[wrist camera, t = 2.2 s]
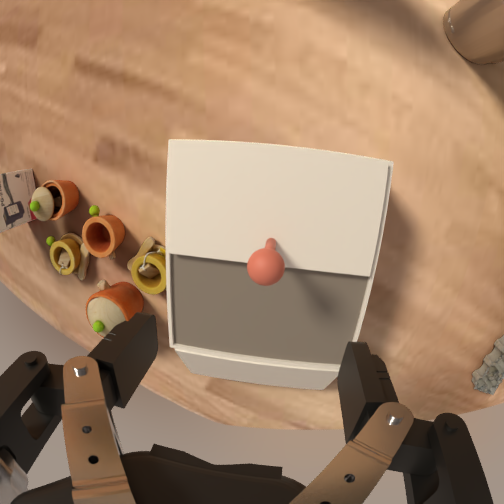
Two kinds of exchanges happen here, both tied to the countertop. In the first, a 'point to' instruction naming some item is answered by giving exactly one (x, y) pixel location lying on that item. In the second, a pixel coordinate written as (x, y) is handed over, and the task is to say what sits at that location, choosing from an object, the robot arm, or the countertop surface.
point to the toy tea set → (100, 245)
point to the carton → (264, 313)
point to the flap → (275, 208)
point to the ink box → (16, 198)
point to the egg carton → (491, 369)
